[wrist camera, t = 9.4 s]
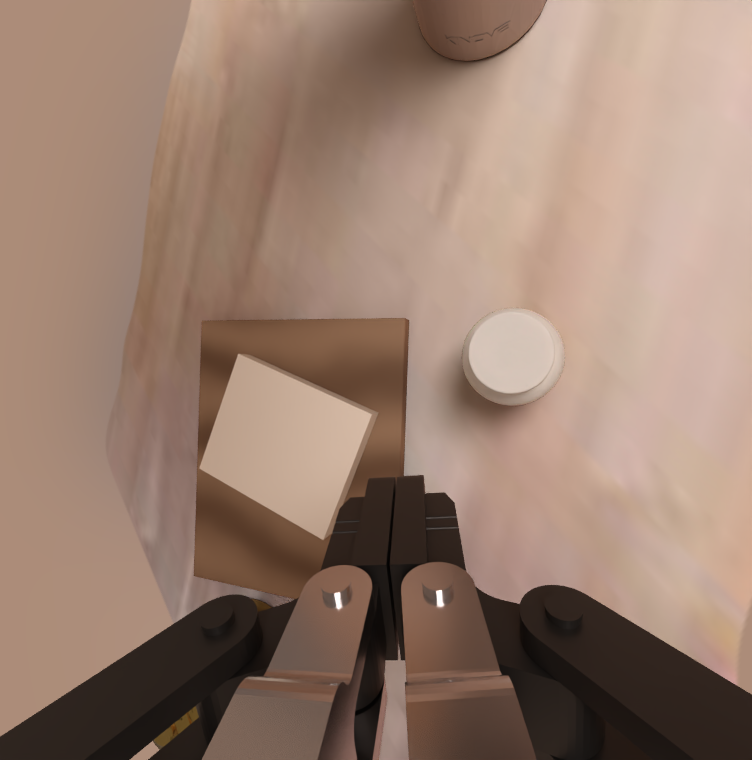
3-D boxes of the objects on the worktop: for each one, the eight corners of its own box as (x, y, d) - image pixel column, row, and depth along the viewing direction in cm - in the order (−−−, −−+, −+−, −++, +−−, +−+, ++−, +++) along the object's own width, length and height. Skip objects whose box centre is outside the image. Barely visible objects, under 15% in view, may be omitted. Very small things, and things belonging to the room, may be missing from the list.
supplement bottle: (566, 387, 28) (590, 389, 19) (487, 411, 30) (475, 424, 20) (538, 312, 29) (548, 279, 19) (462, 340, 30) (439, 321, 21)
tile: (378, 412, 31) (250, 354, 34) (371, 414, 29) (238, 353, 33) (332, 532, 32) (212, 464, 36) (323, 540, 31) (199, 468, 34)
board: (211, 322, 37) (201, 320, 36) (408, 320, 31) (404, 318, 30) (203, 570, 37) (193, 576, 36) (398, 612, 32) (394, 621, 30)
